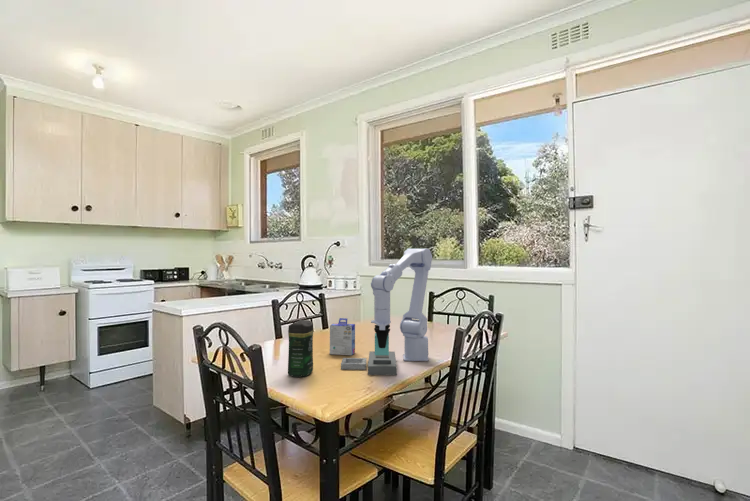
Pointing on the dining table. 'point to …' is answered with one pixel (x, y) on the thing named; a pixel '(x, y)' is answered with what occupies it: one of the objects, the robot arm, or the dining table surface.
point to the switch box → (382, 364)
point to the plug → (381, 350)
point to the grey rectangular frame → (353, 364)
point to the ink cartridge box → (342, 338)
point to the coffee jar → (300, 348)
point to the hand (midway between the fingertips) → (382, 346)
